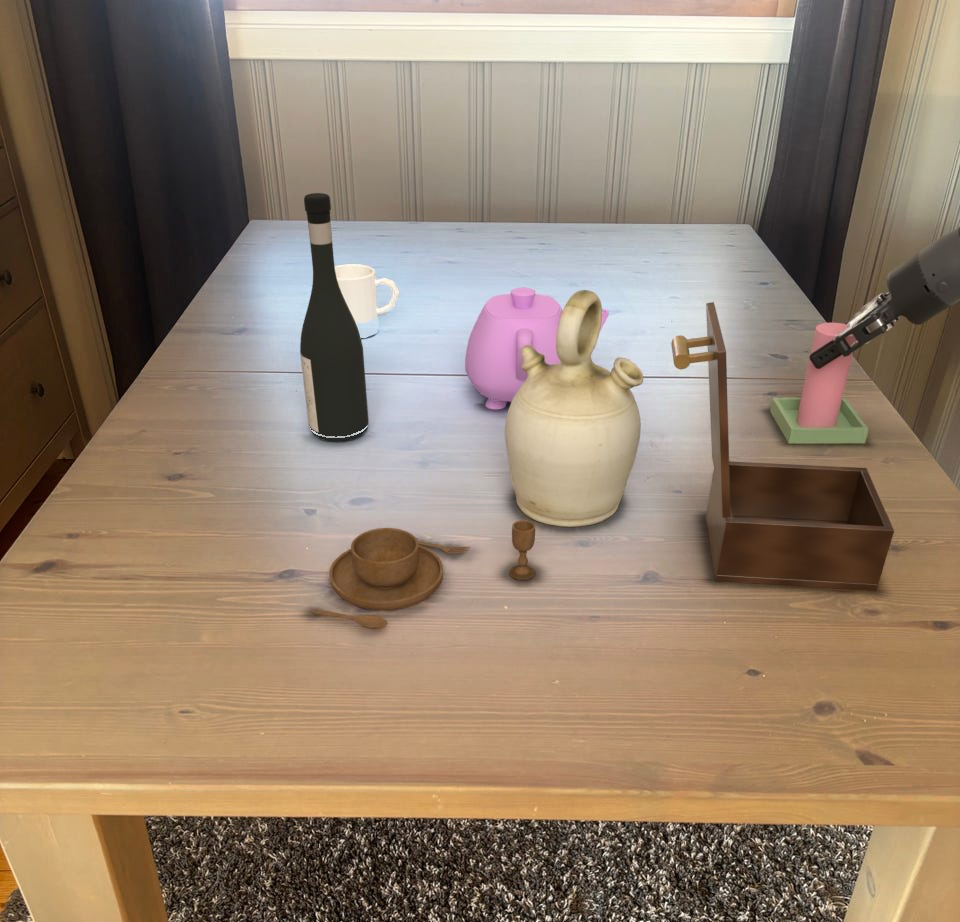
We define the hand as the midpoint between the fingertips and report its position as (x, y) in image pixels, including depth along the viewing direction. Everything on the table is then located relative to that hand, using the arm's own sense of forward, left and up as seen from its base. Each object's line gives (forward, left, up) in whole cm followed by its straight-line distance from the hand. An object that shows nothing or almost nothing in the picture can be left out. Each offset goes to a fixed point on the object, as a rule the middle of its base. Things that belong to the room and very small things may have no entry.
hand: (822, 352), depth 127 cm
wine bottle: (+47, +44, -10) cm, 65 cm away
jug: (+12, +39, -10) cm, 42 cm away
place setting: (+12, +64, -10) cm, 66 cm away
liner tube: (-1, 0, -10) cm, 10 cm away
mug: (+72, +15, -10) cm, 74 cm away
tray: (-1, 0, -10) cm, 10 cm away
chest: (-13, +32, -10) cm, 36 cm away
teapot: (+34, +18, -10) cm, 40 cm away
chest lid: (-6, +37, +6) cm, 38 cm away
